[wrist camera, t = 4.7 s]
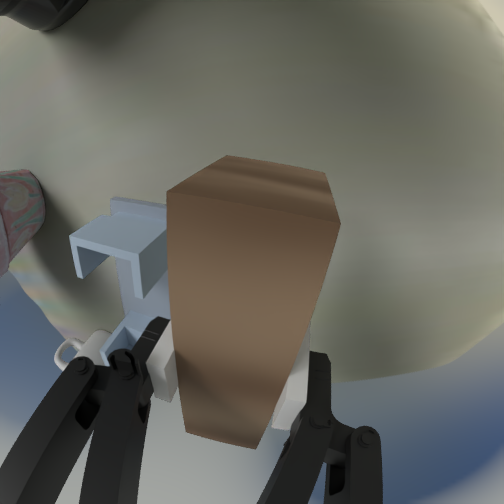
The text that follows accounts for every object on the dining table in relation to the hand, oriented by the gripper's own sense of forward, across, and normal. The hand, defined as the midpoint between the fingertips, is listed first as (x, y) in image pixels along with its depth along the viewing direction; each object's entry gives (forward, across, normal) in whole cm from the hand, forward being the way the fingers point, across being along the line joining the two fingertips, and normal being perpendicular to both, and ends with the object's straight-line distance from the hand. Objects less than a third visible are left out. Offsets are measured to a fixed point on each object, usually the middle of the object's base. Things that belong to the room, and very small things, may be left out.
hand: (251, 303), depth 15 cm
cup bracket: (+12, -13, -11) cm, 21 cm away
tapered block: (+1, 0, 0) cm, 1 cm away
